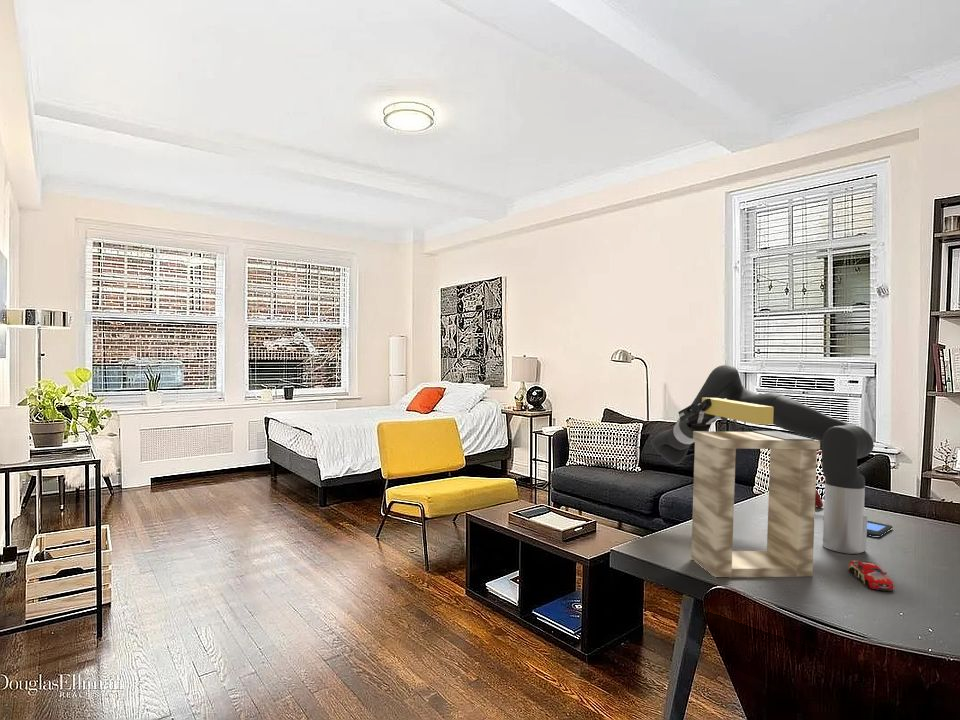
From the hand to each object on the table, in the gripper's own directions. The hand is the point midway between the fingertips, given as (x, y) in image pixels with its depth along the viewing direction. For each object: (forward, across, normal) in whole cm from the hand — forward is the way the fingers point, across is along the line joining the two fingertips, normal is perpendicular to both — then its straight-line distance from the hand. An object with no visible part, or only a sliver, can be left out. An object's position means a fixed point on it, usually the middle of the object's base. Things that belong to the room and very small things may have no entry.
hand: (718, 401), depth 156 cm
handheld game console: (-36, +57, +25) cm, 72 cm away
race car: (-1, +27, +45) cm, 52 cm away
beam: (+5, 0, +7) cm, 9 cm away
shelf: (-9, +3, +40) cm, 41 cm away
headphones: (-55, +62, +14) cm, 84 cm away
